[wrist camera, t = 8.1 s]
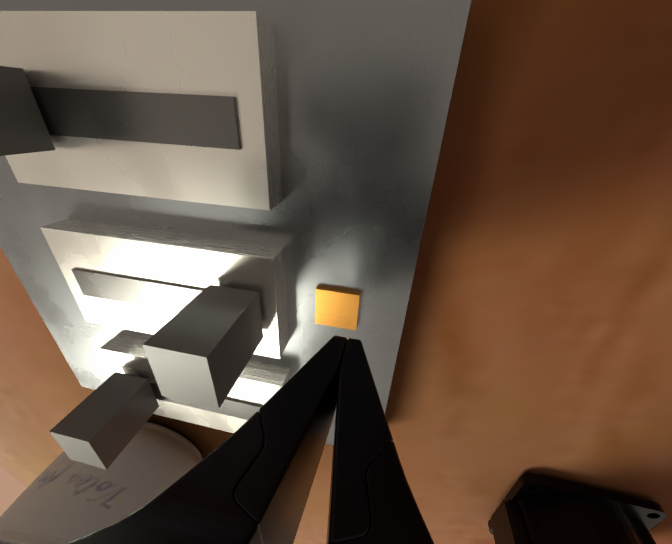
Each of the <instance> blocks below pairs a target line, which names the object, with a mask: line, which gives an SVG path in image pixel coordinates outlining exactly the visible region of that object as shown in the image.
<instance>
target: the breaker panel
mask: <svg viewBox="0 0 672 544" xmlns="http://www.w3.org/2000/svg"><path fill="white" fill-rule="evenodd" d="M470 5H471V0H0V66H6V67H14V68H23V71H24V73H25V75H26V78H27V80H28V83H29V85H30V88H31V90H32V93H33V95H34V98H35V100H36V103H37V105H38V108H39V110H40V113H41V115H42V118H43V120H44V122H45V125H46V127H47V130H48V132H49V135H50V137H51V140H52V142H53V145H54V147H55V150H52V151H43V152H33V153H24V154H15V155H5V156H0V247H1V248H2V250H3V252H4V253H5V255H6V257H7V259H8V260H9V262H10V264H11V265H12V267H13V269H14V271H15V272H16V274H17V276H18V277H19V279H20V281H21V283H22V284H23V286H24V288H25V289H26V291H27V293H28V295H29V296H30V298H31V300H32V302H33V303H34V305H35V307H36V308H37V310H38V312H39V314H40V315H41V317H42V319H43V320H44V322H45V324H46V326H47V327H48V329H49V331H50V332H51V334H52V336H53V338H54V339H55V341H56V343H57V345H58V346H59V348H60V350H61V351H62V353H63V355H64V357H65V358H66V360H67V362H68V363H69V365H70V367H71V369H72V370H73V372H74V374H75V375H76V377H77V379H78V381H79V382H80V384H81V386H82V387H86V388H91V389H95V390H96V389H97V388H98V387H99V386H100V385H101V384H102V383H104V382H105V381H106V380H107V379H108V378H109V377H110V376H111V375H112V374H114V373H115V372H118V373H122V374H127V375H131V376H136V377H140V378H145V379H148V380H149V382H150V385H151V387H152V390H153V392H154V395H155V397H156V400H157V402H158V405H159V407H158V408H157V410H156V411H155V412H154V413H153V414H156V415H160V416H164V417H168V418H172V419H176V420H181V421H185V422H189V423H193V424H197V425H201V426H206V427H210V428H214V429H218V430H222V431H226V432H230V433H235V432H236V431H237V430H238V429H239V428H240V427H241V426H242V425H243V424H244V423H245V422H246V421H247V420H248V419H250V418H251V417H252V416H253V415H254V414H255V413H256V412H257V411H259V409H260V408H261V407H262V406H263V405H264V404H265V403H266V402H267V401H268V400H269V399H270V398H271V397H272V396H273V395H274V394H275V393H276V392H277V391H278V390H279V389H280V388H281V387H282V386H283V385H284V384H285V383H286V382H287V381H288V380H289V379H290V378H291V377H292V376H293V375H294V374H295V373H296V372H297V371H298V370H299V369H300V368H301V367H303V366H304V365H305V364H306V363H307V362H308V361H309V360H310V359H311V358H312V357H313V356H314V355H315V354H316V353H317V352H318V351H319V350H320V349H321V348H322V347H323V346H324V345H325V344H326V343H327V342H328V341H329V340H330V339H331V338H332V337H333V336H335V335H336V336H342V337H346V338H347V339H348V338H353V339H359V340H361V342H362V345H363V348H364V351H365V354H366V357H367V360H368V363H369V367H370V370H371V373H372V376H373V379H374V382H375V385H376V388H377V392H378V395H379V398H380V401H381V404H382V407H383V410H384V414H385V411H386V406H387V402H388V397H389V392H390V387H391V383H392V378H393V373H394V368H395V363H396V359H397V354H398V349H399V344H400V340H401V335H402V330H403V325H404V320H405V316H406V311H407V306H408V301H409V296H410V292H411V287H412V282H413V277H414V273H415V268H416V263H417V258H418V253H419V249H420V244H421V239H422V234H423V230H424V225H425V220H426V215H427V210H428V206H429V201H430V196H431V191H432V187H433V182H434V177H435V172H436V167H437V163H438V158H439V153H440V148H441V143H442V139H443V134H444V129H445V124H446V120H447V115H448V110H449V105H450V100H451V96H452V91H453V86H454V81H455V77H456V72H457V67H458V62H459V57H460V53H461V48H462V43H463V38H464V34H465V29H466V24H467V19H468V14H469V10H470ZM210 284H211V285H217V286H223V287H230V288H236V289H242V290H249V291H255V292H259V298H260V307H261V317H262V327H263V339H262V341H261V342H260V344H259V345H258V347H257V349H256V350H255V352H254V353H253V355H252V357H251V358H250V360H249V362H248V363H247V365H246V366H245V368H244V370H243V371H242V373H241V374H240V376H239V378H238V379H237V381H236V383H235V384H234V386H233V387H232V389H231V391H230V392H229V394H228V396H227V397H226V399H225V400H224V402H223V404H222V405H221V407H220V408H219V409H217V408H212V407H208V406H204V405H199V404H195V403H190V402H186V401H182V400H177V399H173V398H169V397H164V396H162V395H161V392H160V389H159V387H158V384H157V382H156V379H155V376H154V374H153V371H152V369H151V366H150V363H149V361H148V358H147V356H146V353H145V350H144V348H143V345H142V344H144V343H145V342H146V341H147V340H148V339H149V338H150V337H151V336H153V335H154V334H155V333H156V332H157V331H158V330H159V329H160V328H162V327H163V326H164V325H165V324H166V323H167V322H168V321H169V320H170V319H172V318H173V317H174V316H175V315H176V314H177V313H178V312H179V311H181V310H182V309H183V308H184V307H185V306H186V305H187V304H188V303H190V302H191V301H192V300H193V299H194V298H195V297H196V296H197V295H199V294H200V293H201V292H202V291H203V290H204V289H205V288H206V287H208V286H209V285H210ZM335 416H336V410H335V414H334V417H333V421H332V424H331V427H330V430H329V433H328V436H327V439H326V444H330V445H333V444H334V430H335Z"/></svg>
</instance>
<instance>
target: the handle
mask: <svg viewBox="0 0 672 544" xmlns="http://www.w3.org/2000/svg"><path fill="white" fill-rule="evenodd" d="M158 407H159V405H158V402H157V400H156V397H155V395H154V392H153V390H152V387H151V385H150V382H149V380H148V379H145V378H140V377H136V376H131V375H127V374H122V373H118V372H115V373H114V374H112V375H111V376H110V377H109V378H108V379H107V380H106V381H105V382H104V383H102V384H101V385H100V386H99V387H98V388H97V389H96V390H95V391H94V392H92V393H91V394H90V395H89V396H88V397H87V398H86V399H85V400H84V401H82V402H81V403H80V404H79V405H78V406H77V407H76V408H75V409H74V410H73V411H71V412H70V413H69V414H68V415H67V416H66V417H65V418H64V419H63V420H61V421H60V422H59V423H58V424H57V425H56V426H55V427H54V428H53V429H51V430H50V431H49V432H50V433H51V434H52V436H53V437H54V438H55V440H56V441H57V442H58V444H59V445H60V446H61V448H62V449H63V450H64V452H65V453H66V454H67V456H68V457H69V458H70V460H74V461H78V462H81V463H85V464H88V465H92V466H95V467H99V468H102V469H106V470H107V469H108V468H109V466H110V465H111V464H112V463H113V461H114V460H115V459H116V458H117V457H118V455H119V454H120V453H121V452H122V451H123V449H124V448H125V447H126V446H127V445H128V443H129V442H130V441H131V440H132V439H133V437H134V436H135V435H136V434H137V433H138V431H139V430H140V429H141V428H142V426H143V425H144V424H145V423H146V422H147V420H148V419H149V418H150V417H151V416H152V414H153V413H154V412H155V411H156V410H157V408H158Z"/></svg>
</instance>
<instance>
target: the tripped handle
mask: <svg viewBox="0 0 672 544" xmlns="http://www.w3.org/2000/svg"><path fill="white" fill-rule="evenodd" d="M262 339H263V327H262V317H261V307H260V298H259V292H255V291H249V290H242V289H236V288H230V287H223V286H217V285H211V284H210V285H209V286H208V287H206V288H205V289H204V290H203V291H202V292H201V293H200V294H199V295H197V296H196V297H195V298H194V299H193V300H192V301H191V302H190V303H188V304H187V305H186V306H185V307H184V308H183V309H182V310H181V311H179V312H178V313H177V314H176V315H175V316H174V317H173V318H172V319H170V320H169V321H168V322H167V323H166V324H165V325H164V326H163V327H162V328H160V329H159V330H158V331H157V332H156V333H155V334H154V335H153V336H151V337H150V338H149V339H148V340H147V341H146V342H145V343H144V344H142V345H143V348H144V350H145V353H146V356H147V358H148V361H149V363H150V366H151V369H152V371H153V374H154V376H155V379H156V382H157V384H158V387H159V389H160V392H161V395H162V396H164V397H169V398H173V399H177V400H182V401H186V402H190V403H195V404H199V405H204V406H208V407H212V408H217V409H219V408H220V407H221V405H222V404H223V402H224V400H225V399H226V397H227V396H228V394H229V392H230V391H231V389H232V387H233V386H234V384H235V383H236V381H237V379H238V378H239V376H240V374H241V373H242V371H243V370H244V368H245V366H246V365H247V363H248V362H249V360H250V358H251V357H252V355H253V353H254V352H255V350H256V349H257V347H258V345H259V344H260V342H261V341H262Z"/></svg>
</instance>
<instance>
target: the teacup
mask: <svg viewBox="0 0 672 544" xmlns="http://www.w3.org/2000/svg"><path fill="white" fill-rule="evenodd" d="M202 460H203V459H202V456H201V454H200V452H199V451H198V449H197V448H196V447H195V446H194V445H193V444H192V443H191V442H190V441H189V440H188V439H186V438H184V437H183V436H181V435H180V434H178V433H176V432H174V431H172V430H170V429H168V428H166V427H163V426H161V425H157V424H154V423H149V422H146V423H145V424H144V425H143V426H142V428H141V429H140V430H139V431H138V433H137V434H136V435H135V436H134V437H133V439H132V440H131V441H130V442H129V443H128V445H127V446H126V447H125V448H124V449H123V451H122V452H121V453H120V454H119V455H118V457H117V458H116V459H115V460H114V461H113V463H112V464H111V465H110V466H109V468H108V469H107V470H106V469H102V468H99V467H95V466H92V465H88V464H85V463H81V462H78V461H74V460H70V458H69V457H68V456H67V454H66V453H65V452H62V453H61V454H60V455H59V456H58V457H57V458H56V459H55V460H54V461H53V462H52V463H51V464H50V465H49V466H48V467H47V468H46V469H45V470H44V471H43V472H42V473H41V474H40V475H39V476H38V477H37V478H36V479H35V480H34V481H33V482H32V484H31V485H30V486H29V487H28V488H27V489H26V490H25V491H24V492H23V493H22V494H21V495H20V496H19V497H18V498H17V499H16V500H15V502H14V503H13V504H12V505H11V506H10V507H9V508H8V509H7V510H6V511H5V512H4V513H3V514H2V516H1V517H0V544H67V543H70V542H72V541H74V540H77V539H79V538H81V537H84V536H86V535H88V534H91V533H93V532H95V531H98V530H100V529H102V528H105V527H107V526H109V525H111V524H114V523H116V522H118V521H120V520H122V519H124V518H125V517H127V516H129V515H131V514H132V513H134V512H136V511H137V510H139V509H140V508H142V507H143V506H145V505H146V504H148V503H149V502H150V501H152V500H153V499H154V498H155V497H157V496H158V495H159V494H161V493H162V492H163V491H164V490H166V489H167V488H168V487H169V486H170V485H172V484H173V483H174V482H175V481H177V480H178V479H179V478H180V477H182V476H183V475H184V474H185V473H187V472H188V471H189V470H190V469H192V468H193V467H194V466H195V465H197V464H198V463H199V462H200V461H202Z"/></svg>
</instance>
